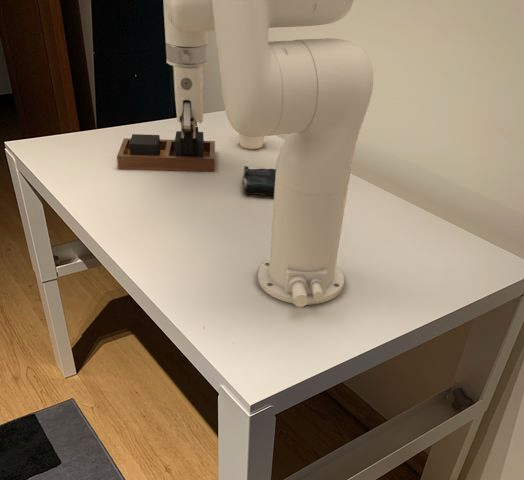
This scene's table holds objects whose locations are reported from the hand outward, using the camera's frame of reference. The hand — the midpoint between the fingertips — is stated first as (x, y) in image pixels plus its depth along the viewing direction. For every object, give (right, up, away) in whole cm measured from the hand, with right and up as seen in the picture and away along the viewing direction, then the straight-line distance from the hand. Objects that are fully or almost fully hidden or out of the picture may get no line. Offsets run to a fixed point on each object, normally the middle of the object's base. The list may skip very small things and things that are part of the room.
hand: (190, 151), depth 113 cm
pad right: (0, 0, 0) cm, 0 cm away
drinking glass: (+12, +5, +10) cm, 17 cm away
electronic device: (+19, -10, -7) cm, 22 cm away
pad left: (-9, -1, 0) cm, 9 cm away
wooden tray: (-5, -2, +1) cm, 5 cm away
